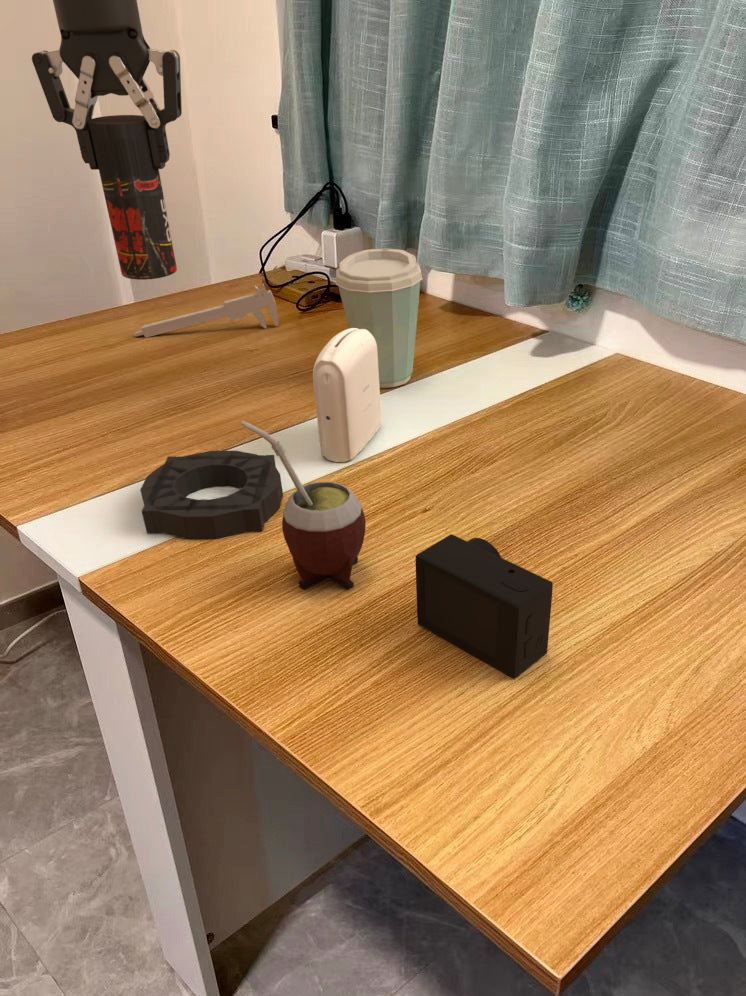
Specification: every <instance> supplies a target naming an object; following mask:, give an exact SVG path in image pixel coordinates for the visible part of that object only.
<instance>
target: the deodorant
mask: <svg viewBox="0 0 746 996" xmlns="http://www.w3.org/2000/svg"><path fill="white" fill-rule="evenodd" d="M88 123H89V128H90V132H91V137H92V141H93V146H94V150H95V155H96V159H97V164H98V172H99V173H98V174H99V177H100V182H101V186H102V191H103V196H104V200H105V204H106V209H107V213H108V218H109V222H110V228H111V232H112V236H113V241H114V245H115V251H116V255H117V260H118V263H119V269H120V272H121V275H122V277H124V278H126V279H131V280H139V281H140V280H141V281H143V280H145V281H146V280H155V279H162V278H165V277H169V276H171V275H174V274H175V273H176V272H177V271H178V268H177V267H178V266H177V261H176V257H175V250H174V245H173V240H172V234H171V229H170V223H169V217H168V213H167V207H166V203H165V202H166V201H165V195H164V189H163V185H162V180H161V175H160V174H161V173H160V169H155V168H154V163H153V158H152V153H151V147H150V142H149V136H148V131H147V130H148V129H149V128H150V126H149V124H148V122H147V121H146V119H145V117H144V116H143V115H140V114H115V115H105V116H98V117H97V116H96V117H92V119H90V120H89V121H88Z"/></svg>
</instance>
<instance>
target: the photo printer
mask: <svg viewBox="0 0 746 996" xmlns="http://www.w3.org/2000/svg"><path fill="white" fill-rule="evenodd" d="M312 381H313V391H314V401H315V410H316V421H317V430H318V439H319V440H318V441H319V449H320V450H319V451H320V454H321V456H323V457H324V458H325V459H326V460H328V461H330V462H335V463H346V462H348V461H351V460H353V459H354V458H355V457H356V456H358V455H359V454H360V452H361V451H362V450H363V449H364V448H365V447H366V446H367V444H368V443H369V442H370V441H371V439H372V438H374V436H375V435H376V433H377V431H379V429H380V427H381V424H382V409H381V408H382V407H381V388H380V387H379V370H378V353H377V344H376V341H375V339H374V337H373V336H372V334H371V333H370V332H369V331H367V330H366V329H358V328H350V329H349V328H347V329H344V330H342V331H340V332H338V333H337V334H335V335H334V336H333V337H332V338H331V339H329V341H328V342H327V343H326V344H325V345H324V347H323V348H322V349H321V351H320V352H319V354H318V356H317V357H316V360H315V362H314V365H313V369H312Z"/></svg>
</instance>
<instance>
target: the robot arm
mask: <svg viewBox="0 0 746 996" xmlns="http://www.w3.org/2000/svg"><path fill="white" fill-rule="evenodd" d="M52 2H53V7H54V12H55V17H56V21H57V26H58V29H59V33H60V45H59V48H58V49H57V50H51V51H48V50H41V51H39V52H35V53H33V54H32V55H31V61H32V64H33V67H34V70H35V73H36V75H37V78H38V81H39V83H40V86H41V89H42V91H43V94H44V97H45V99H46V102H47V104H48V105H47V106H48V108H49V110H50V114H51V115H52V118H53V119H54V121H55V122H58V123H64V124H67V125H69V126H71V127H72V128H73V129H74V131H75V133H76V137H77V142H78V145H79V150H80V156H81V159H82V161H83V162H84V163H85V164H88V165H89V168H90V170H92V171H93V170H94V171H95V170H97V171H99V169H98V164H97V159H96V155H95V150H94V146H93V141H92V137H91V132H90V128H89V123H88V121H89V120H90V119H93V116H94V110H95V106H96V104H97V102H98V98H99V97H104V96H107V95H110V94H113V95H116V96H121V97H122V96H123V97H124V96H125V97H126V96H129V98H130V99H131V101H132V102H133V104H134V105H135V107H137V108H138V109H139V111H140V113H141V114H142V116H144V117H145V119H146V121H147V122H148V124H149V126H150V128H149V129H148V130H147V131H148V136H149V142H150V147H151V153H152V158H153V163H154V168H155V169H159V170H163V169H164V168H165V167H166V163H167V162H168V161H169V160H170V157H171V153H170V149H169V143H168V135H167V130H166V126H167V124H169V123H171V122H175V121H176V120H177V119H178V118H180V117H181V116H182V113H183V111H182V110H183V109H182V80H181V79H182V77H181V75H182V74H181V56H180V54H179V52H178V50H175V49H170V50H161V49H156V48H155V49H154V48H151V46H150V45H149V44H148V43H147V41H146V39H145V37H144V34H143V27H142V23H141V17H140V16H141V15H140V11H139V6H138V0H52ZM151 62H152V63H153V64H154V67H155V70H156V72H157V74H158V75H159V76H160V77H161V76H162V84H163V86H162V87H163V108H162V109H161V107H160V106H159V104H158V102H157V100H156V99H155V96H154V93H153V91H152V90H151V88H150V87H149V85H148V84H147V82H146V80H145V79H144V76H145V73H146V72H147V70H148V67H149V65H150V63H151ZM63 64H64V65H66V67H67V68H68V69H69V70H70V71H71V73H72V74H73V75H74V76H75V77H76V78H77V80H78V83H77V87H76V92H75V98H74V102H75V105H74V108H71V104H70V103H69V99H68V97H67V94H66V91H65V88H64V86H63V83H62V79H61V77H60V76H61V75H62V74H63V66H62V65H63Z"/></svg>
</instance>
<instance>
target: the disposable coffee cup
mask: <svg viewBox="0 0 746 996" xmlns="http://www.w3.org/2000/svg"><path fill="white" fill-rule="evenodd" d="M338 266H339V267H338V268H336V270H335V286H338V290H339V295H340V300H341V303H342V306H343V310H344V316H345V319H346V323H347V327H348V329H350V328H358V329H366V330H367V331H369V332H370V333H371V334H372V336H373V337H374V339H375V341H376V344H377V353H378V370H379V387H380V389H388V388H396V387H400V386H402V385H405V384H407V383H408V382H409V381H410V380H411V377H412V375H413V370H414V359H415V350H416V349H415V348H416V339H417V337H416V336H417V327H418V326H417V325H418V314H419V305H420V303H419V301H420V291H421V281H422V280H423V279H424V278H423V275H422V270H421V265H420V264H419V263H417V259H416V256H415V255H414V254H412V253H409V252H408V251H406V250H404V249H397V248H396V249H395V248H371V249H364V250H360V251H357V252H354V253H351V254H349V255H347V256H346V257H345V258H344V259H342V260H341V261H340V262H339V264H338Z"/></svg>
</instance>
